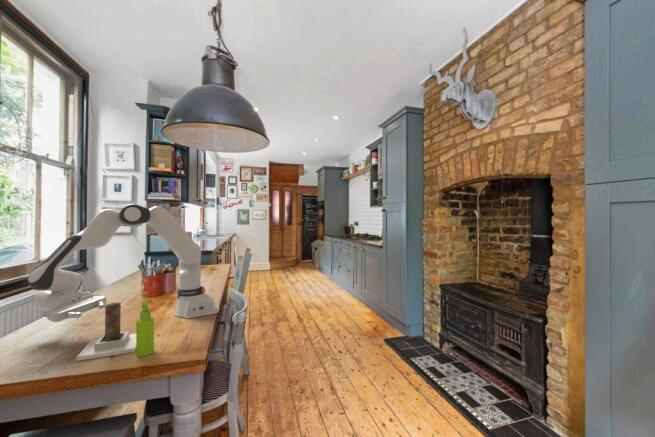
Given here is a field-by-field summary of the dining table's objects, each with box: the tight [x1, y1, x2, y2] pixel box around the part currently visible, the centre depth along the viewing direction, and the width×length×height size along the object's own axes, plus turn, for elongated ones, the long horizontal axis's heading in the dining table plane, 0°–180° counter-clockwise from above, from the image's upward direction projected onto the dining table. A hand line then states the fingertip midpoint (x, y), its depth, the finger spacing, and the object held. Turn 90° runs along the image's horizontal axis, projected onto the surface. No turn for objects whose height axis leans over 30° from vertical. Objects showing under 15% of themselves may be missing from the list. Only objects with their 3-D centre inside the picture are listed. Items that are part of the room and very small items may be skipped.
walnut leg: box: [104, 302, 122, 342], centre depth 115 cm, size 5×5×16 cm
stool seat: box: [76, 331, 136, 362], centre depth 115 cm, size 18×16×4 cm
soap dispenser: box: [135, 301, 155, 357], centre depth 111 cm, size 6×7×20 cm
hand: (92, 310), depth 119 cm, fingers open, 8 cm apart
